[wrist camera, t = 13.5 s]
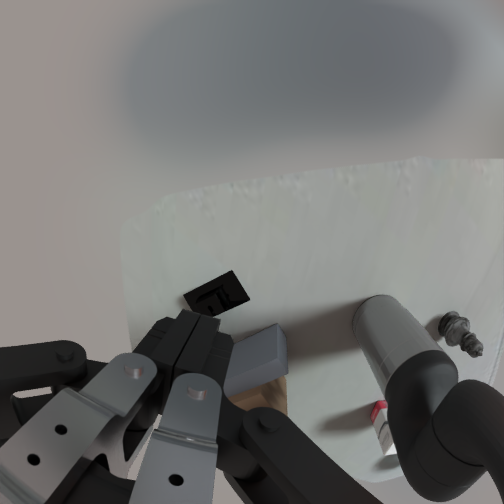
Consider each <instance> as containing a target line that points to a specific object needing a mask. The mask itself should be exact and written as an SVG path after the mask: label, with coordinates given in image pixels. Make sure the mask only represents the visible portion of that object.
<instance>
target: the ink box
mask: <svg viewBox="0 0 504 504" xmlns="http://www.w3.org/2000/svg"><path fill="white" fill-rule="evenodd" d="M387 407H388V404H387V402H386V401H377V403H376V405H375V407H374V409H373V411H372V414H371V416H370V417H371V419H372V422H373V425H374V428H375V431H376V434H377V436H378V439H379V442H380V445H381V448H382V451H383V454H384V455H391V454H397V452H396V448H395V445H394V442H393V438H392V435H391V432H390V429H389V426H388V421H387Z"/></svg>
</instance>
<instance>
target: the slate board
mask: <svg viewBox="0 0 504 504" xmlns="http://www.w3.org/2000/svg"><path fill="white" fill-rule="evenodd" d="M286 374H288V359H287V343H286V336H285V335H284V333H283V332H282V330H281V328H280V327H279V325H278V324H275V325H273V326H271V327H269V328H267V329H265V330H263V331H261V332H259V333H257V334H254V335H252V336H250V337H248V338H246V339H244V340H242V341H240V342H237V343H235V344H234V346H233V350H232V354H231V358H230V362H229V366H228V370H227V374H226V378H225V382H224V387H223V389H224V393H225V395H226V397H227V398H228V397H231V396H233V395H236V394H239V393H242V392H244V391H247V390H249V389H252V388H255V387H257V386H260V385H262V384H265V383H267V382H270V381H272V380H274V379H277V378H279V377H281V376H284V375H286Z"/></svg>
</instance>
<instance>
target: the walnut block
mask: <svg viewBox="0 0 504 504" xmlns="http://www.w3.org/2000/svg"><path fill="white" fill-rule="evenodd" d="M228 399H229V400H230V401H231V402H232V403H233V404H234V405H236V406H238V407H239V408H241V409H244V410H246V411H249V410H250V409H252V408H256V407H270V408H274V409H276V410H279V411H281V412H282V413H284V414H285V415H286V416H287V390H286V379H285V377H284V376H281V377H279V378H277V379H274V380H272V381H270V382H267V383H265V384H262V385H260V386H257V387H255V388H252V389H249V390H247V391H244V392H242V393H239V394H236V395H233V396H231V397H228Z"/></svg>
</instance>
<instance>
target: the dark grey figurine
mask: <svg viewBox="0 0 504 504" xmlns="http://www.w3.org/2000/svg"><path fill="white" fill-rule="evenodd" d="M469 330H470V322H469V320H468V319H467V318H465V317H460V316H459V314H458V313H457V312H455V311H451V312H449V313H447V314H446V315H444V316H443V318H442V319H441V321H440V323H439V326H438V331H439V334H440V335H441V336H445V341H446V343H447V344H448V345H449V346H457V345H460V347H461V350H462V351H466V352H467V353H468V354H469V355H470V356H471V357H473V358H476V357H478V356H482V351H483V344H482V343H481V342H480V341H479V340H478V339H477V338H476V335H475V334H474V333H471V332H469Z"/></svg>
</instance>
